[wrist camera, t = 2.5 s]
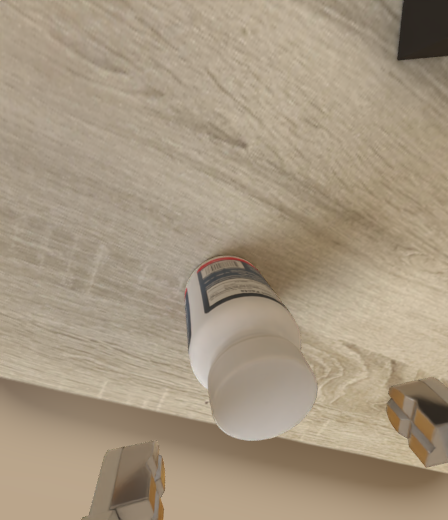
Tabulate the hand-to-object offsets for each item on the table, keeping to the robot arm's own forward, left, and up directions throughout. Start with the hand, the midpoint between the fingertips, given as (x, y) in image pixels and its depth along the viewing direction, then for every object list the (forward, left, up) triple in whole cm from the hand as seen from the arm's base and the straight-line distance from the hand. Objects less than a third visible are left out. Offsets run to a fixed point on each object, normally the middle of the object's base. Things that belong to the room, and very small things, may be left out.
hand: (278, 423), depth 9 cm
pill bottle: (0, 0, -10) cm, 10 cm away
